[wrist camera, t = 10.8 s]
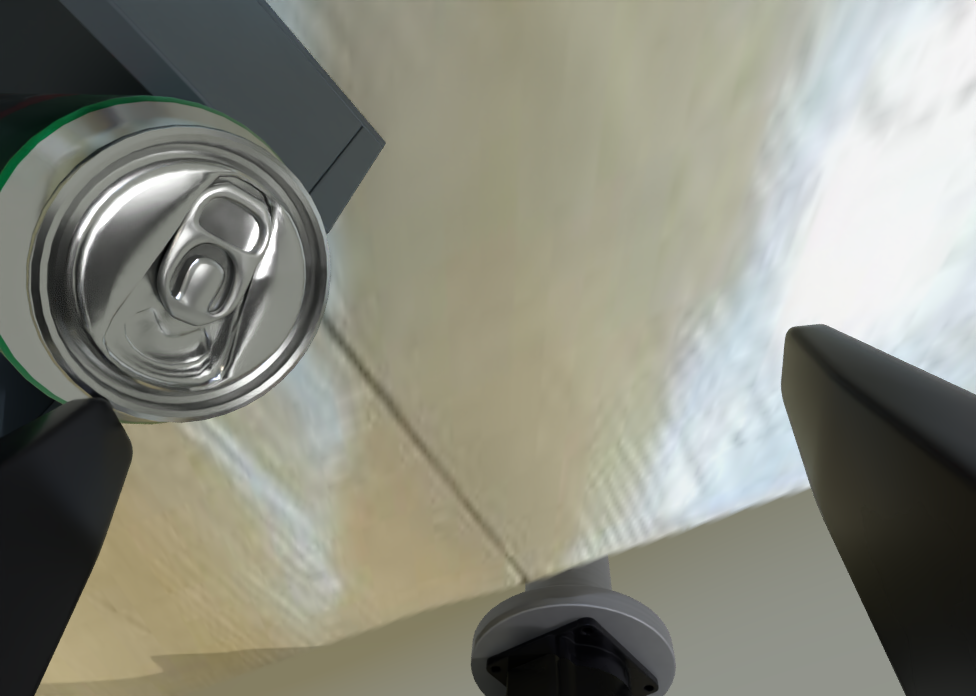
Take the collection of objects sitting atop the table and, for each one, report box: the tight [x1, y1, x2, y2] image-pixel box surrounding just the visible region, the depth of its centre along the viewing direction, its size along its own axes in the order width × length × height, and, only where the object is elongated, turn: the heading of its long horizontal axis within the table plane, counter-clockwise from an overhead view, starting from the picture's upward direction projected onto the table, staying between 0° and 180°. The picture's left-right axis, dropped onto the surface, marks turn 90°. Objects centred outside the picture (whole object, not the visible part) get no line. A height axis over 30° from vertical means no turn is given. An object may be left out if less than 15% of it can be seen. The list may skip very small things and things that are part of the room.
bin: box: [0, 0, 386, 437], centre depth 17 cm, size 13×13×6 cm
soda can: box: [0, 93, 331, 424], centre depth 14 cm, size 5×5×12 cm
